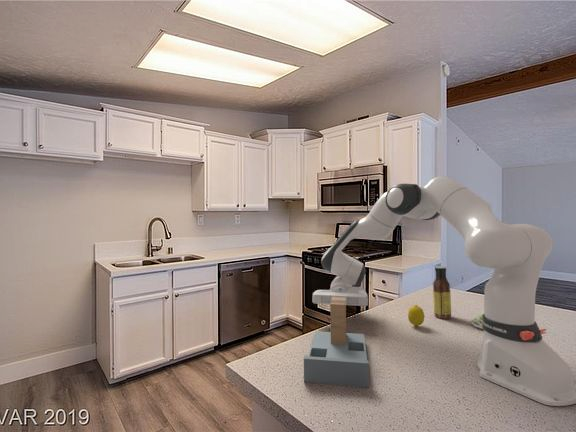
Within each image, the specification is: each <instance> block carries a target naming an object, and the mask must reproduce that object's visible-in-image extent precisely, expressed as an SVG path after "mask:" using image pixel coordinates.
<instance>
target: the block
mask: <svg viewBox="0 0 576 432" xmlns="http://www.w3.org/2000/svg"><path fill="white" fill-rule="evenodd" d="M329 306H330V308H329V309H330V311H329V313H330V318H329V319H330V332H331V344H346V333H347V305H346V297H332V298H331V303H330V304H329Z"/></svg>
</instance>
